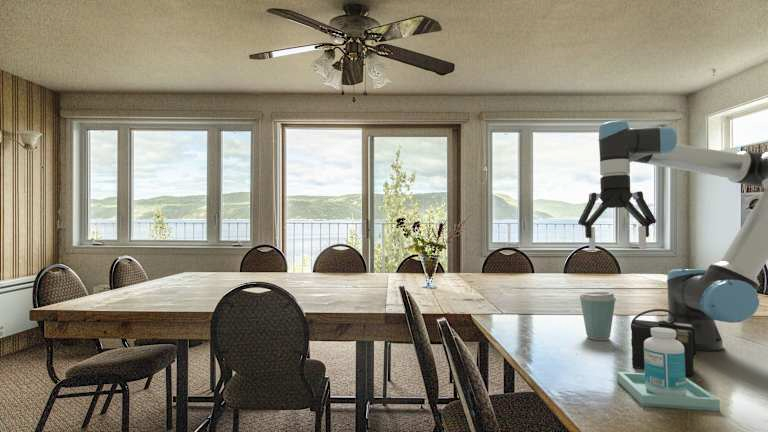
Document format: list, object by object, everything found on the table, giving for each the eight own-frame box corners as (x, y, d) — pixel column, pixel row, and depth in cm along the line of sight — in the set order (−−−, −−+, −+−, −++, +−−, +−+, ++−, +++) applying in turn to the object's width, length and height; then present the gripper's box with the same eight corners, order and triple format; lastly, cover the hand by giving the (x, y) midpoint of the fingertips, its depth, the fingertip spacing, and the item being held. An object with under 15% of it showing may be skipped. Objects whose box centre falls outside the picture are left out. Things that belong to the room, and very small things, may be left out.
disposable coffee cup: (581, 340, 135) (580, 293, 135) (579, 332, 145) (578, 289, 145) (618, 344, 131) (618, 295, 131) (614, 335, 141) (613, 290, 141)
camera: (698, 379, 100) (696, 316, 101) (630, 369, 108) (629, 310, 108) (693, 366, 110) (692, 309, 110) (632, 358, 117) (631, 304, 117)
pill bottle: (681, 388, 93) (680, 327, 94) (690, 401, 87) (688, 335, 87) (642, 383, 96) (641, 324, 97) (647, 395, 90) (646, 331, 90)
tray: (682, 384, 97) (682, 375, 97) (719, 411, 83) (719, 399, 83) (617, 381, 100) (617, 371, 100) (642, 406, 86) (642, 395, 86)
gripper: (654, 175, 124) (657, 247, 123) (565, 178, 127) (567, 248, 126) (668, 172, 116) (671, 249, 116) (573, 175, 120) (575, 250, 119)
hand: (617, 249), depth 121 cm, fingers open, 13 cm apart
